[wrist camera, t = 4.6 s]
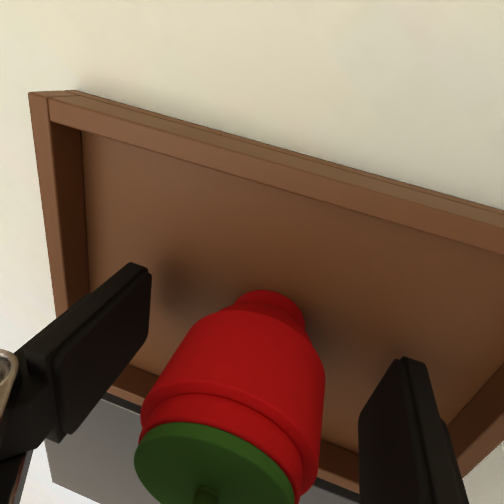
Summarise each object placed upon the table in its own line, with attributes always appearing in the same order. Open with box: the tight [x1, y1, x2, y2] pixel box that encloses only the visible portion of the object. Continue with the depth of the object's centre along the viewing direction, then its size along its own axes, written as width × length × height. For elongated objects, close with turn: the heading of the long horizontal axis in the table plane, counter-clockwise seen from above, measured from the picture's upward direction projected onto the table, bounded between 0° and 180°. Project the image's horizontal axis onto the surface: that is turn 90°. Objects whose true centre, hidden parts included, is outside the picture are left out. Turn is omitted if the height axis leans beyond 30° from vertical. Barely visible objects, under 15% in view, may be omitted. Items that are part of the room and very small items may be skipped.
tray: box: [28, 90, 504, 494], centre depth 11 cm, size 15×11×2 cm
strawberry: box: [134, 290, 325, 504], centre depth 9 cm, size 4×4×6 cm
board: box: [44, 392, 360, 504], centre depth 18 cm, size 20×11×1 cm, turn 78°
